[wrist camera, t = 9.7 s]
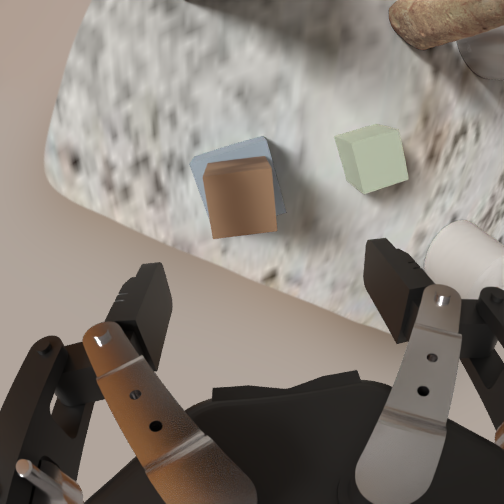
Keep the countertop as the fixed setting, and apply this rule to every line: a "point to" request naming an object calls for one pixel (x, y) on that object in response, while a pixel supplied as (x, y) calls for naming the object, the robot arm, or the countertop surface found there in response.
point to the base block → (232, 152)
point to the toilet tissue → (465, 259)
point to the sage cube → (372, 157)
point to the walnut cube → (240, 197)
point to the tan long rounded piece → (444, 20)
